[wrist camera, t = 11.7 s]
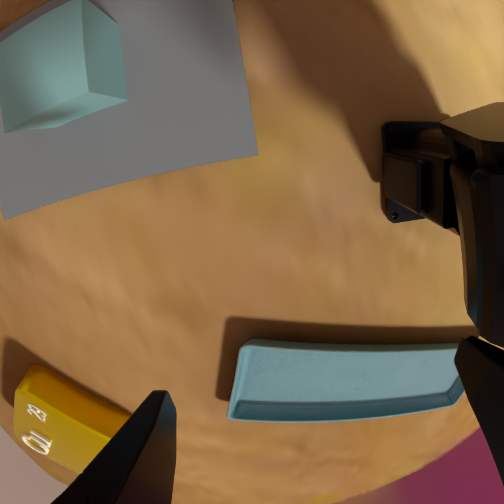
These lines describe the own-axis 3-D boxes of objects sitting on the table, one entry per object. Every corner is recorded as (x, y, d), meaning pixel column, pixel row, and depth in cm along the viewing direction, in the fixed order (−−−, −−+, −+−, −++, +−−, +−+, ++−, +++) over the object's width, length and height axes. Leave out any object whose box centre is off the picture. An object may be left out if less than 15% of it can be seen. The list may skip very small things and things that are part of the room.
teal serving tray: (225, 403, 25) (225, 424, 23) (239, 325, 22) (240, 347, 19) (445, 392, 28) (454, 406, 26) (482, 332, 25) (494, 345, 22)
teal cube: (118, 24, 12) (81, -5, 7) (128, 100, 14) (88, 91, 9) (47, 55, 12) (-1, 43, 7) (55, 127, 14) (4, 132, 9)
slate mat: (221, -47, 11) (221, -55, 10) (256, 153, 17) (258, 155, 16) (-10, 47, 11) (-18, 45, 10) (11, 216, 17) (4, 220, 16)
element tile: (121, 466, 30) (116, 493, 26) (24, 414, 26) (11, 440, 22) (164, 425, 26) (158, 463, 22) (33, 354, 22) (12, 386, 18)
